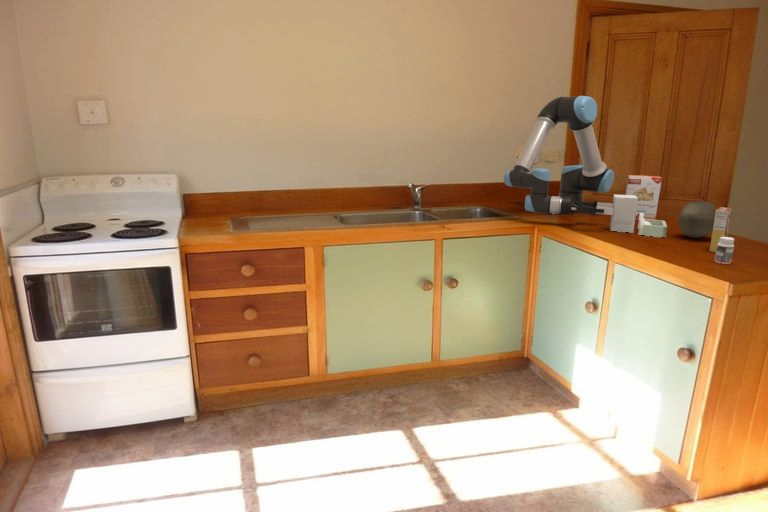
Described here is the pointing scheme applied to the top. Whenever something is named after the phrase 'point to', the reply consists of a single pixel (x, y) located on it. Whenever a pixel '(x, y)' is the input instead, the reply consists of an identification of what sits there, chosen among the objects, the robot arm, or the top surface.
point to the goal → (652, 227)
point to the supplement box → (623, 213)
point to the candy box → (720, 226)
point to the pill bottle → (724, 250)
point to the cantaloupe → (697, 219)
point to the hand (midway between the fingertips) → (613, 209)
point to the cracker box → (645, 194)
